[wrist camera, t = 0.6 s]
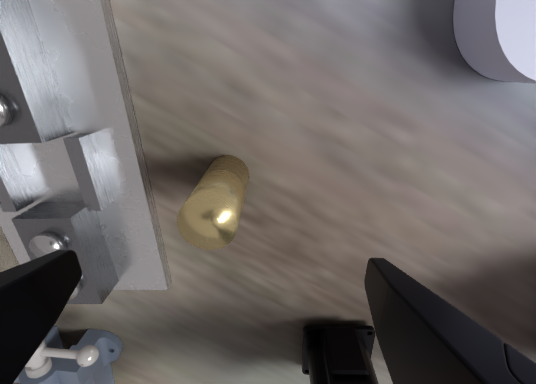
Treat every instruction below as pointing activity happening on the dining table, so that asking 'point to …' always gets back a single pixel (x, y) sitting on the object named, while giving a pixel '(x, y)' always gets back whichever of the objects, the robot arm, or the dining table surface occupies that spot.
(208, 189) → the pin
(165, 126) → the dining table surface
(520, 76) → the wedge on round base
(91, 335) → the vise
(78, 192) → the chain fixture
